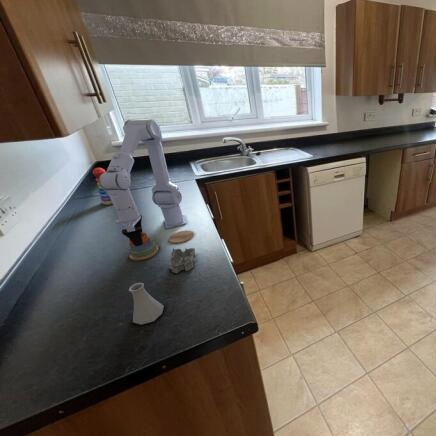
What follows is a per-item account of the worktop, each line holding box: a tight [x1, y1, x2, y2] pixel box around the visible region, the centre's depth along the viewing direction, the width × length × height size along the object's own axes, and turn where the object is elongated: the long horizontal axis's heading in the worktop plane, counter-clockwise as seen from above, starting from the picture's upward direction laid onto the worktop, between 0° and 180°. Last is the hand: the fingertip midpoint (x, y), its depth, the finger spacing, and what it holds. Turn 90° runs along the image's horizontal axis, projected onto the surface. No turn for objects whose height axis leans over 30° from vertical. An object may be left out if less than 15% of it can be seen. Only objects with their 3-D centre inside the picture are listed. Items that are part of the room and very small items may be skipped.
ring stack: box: [128, 236, 160, 262], centre depth 98 cm, size 9×9×8 cm
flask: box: [128, 282, 165, 326], centre depth 71 cm, size 7×7×10 cm
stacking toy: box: [92, 167, 113, 206], centre depth 138 cm, size 8×8×19 cm
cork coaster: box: [168, 230, 195, 244], centre depth 109 cm, size 9×9×1 cm
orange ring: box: [128, 231, 149, 246], centre depth 97 cm, size 5×5×2 cm
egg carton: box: [168, 247, 196, 274], centre depth 93 cm, size 11×8×4 cm
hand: (139, 240), depth 97 cm, fingers open, 7 cm apart
